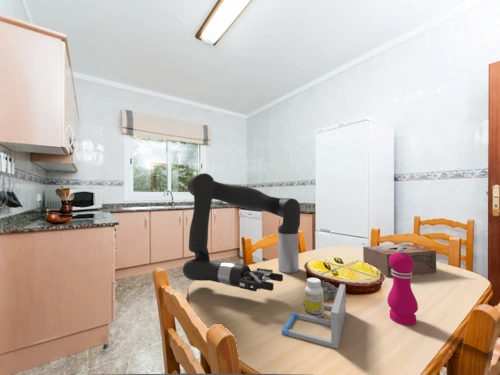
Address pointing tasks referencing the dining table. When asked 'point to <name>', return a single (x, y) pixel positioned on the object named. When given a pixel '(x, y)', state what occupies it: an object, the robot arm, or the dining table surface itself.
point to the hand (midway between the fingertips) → (278, 282)
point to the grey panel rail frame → (323, 321)
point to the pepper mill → (402, 289)
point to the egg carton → (328, 290)
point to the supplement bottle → (314, 298)
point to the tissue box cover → (420, 255)
